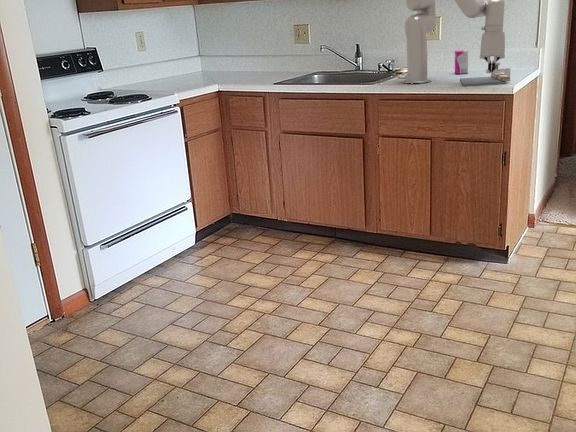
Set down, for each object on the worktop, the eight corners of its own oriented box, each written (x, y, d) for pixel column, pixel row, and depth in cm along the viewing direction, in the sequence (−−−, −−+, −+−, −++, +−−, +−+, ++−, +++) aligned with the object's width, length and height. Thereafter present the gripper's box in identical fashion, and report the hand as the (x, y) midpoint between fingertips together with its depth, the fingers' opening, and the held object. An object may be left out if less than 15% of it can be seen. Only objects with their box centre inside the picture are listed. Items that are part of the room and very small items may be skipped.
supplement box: (466, 72, 318) (466, 49, 315) (468, 74, 313) (468, 50, 309) (454, 73, 319) (454, 50, 315) (456, 74, 314) (456, 51, 310)
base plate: (463, 86, 277) (463, 84, 277) (460, 80, 295) (460, 78, 295) (506, 83, 273) (506, 81, 273) (500, 77, 291) (500, 76, 291)
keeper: (486, 82, 283) (486, 70, 281) (486, 81, 285) (486, 69, 283) (510, 80, 281) (510, 68, 279) (509, 79, 283) (509, 68, 281)
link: (489, 76, 291) (490, 62, 289) (499, 75, 291) (499, 62, 289) (501, 81, 274) (501, 67, 272) (511, 80, 274) (511, 66, 272)
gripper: (475, 30, 267) (473, 73, 274) (512, 29, 263) (509, 73, 269) (476, 28, 274) (474, 70, 280) (511, 27, 269) (508, 70, 276)
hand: (491, 71), depth 275 cm, fingers closed
